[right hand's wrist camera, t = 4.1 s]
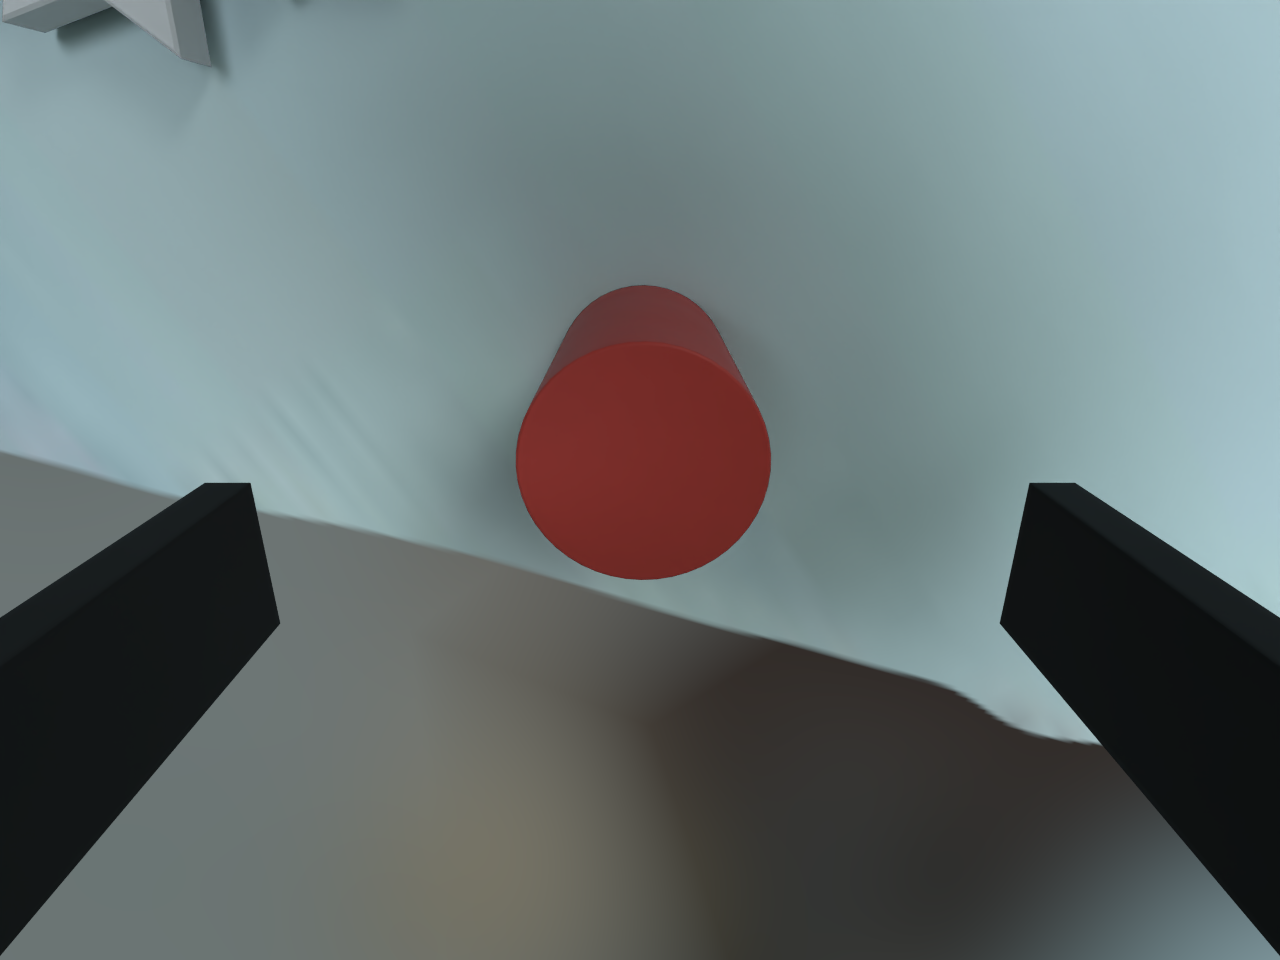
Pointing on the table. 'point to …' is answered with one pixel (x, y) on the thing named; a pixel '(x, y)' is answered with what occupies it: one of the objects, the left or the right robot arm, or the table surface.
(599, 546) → the canister
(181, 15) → the decorative wreath
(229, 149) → the table surface
